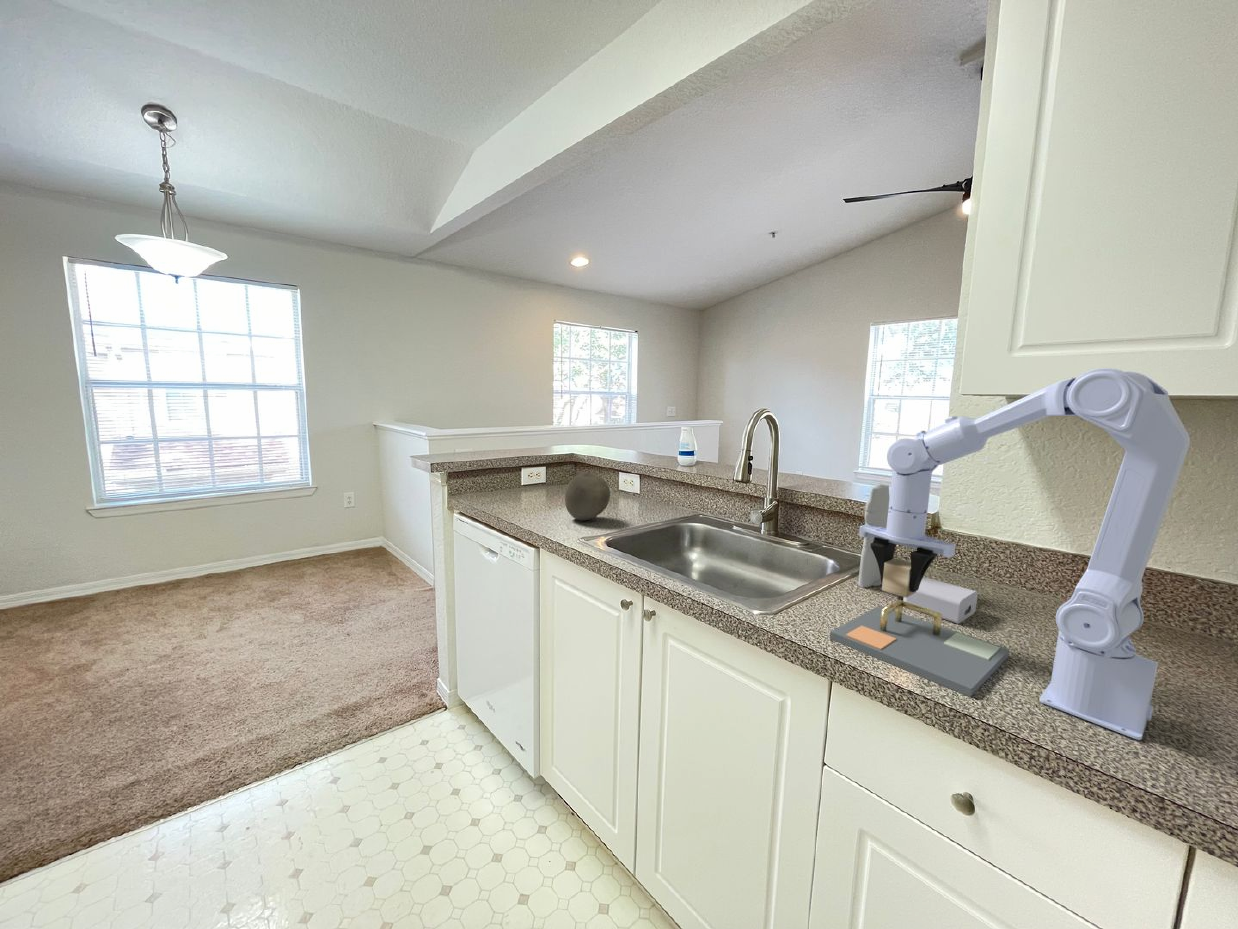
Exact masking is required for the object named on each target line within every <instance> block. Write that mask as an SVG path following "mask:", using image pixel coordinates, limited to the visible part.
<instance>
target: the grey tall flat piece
mask: <svg viewBox="0 0 1238 929" xmlns="http://www.w3.org/2000/svg"><path fill="white" fill-rule="evenodd" d="M889 498H890V485H887V484H886V485H885V484H882V483H881V484H878V485H876V486H873V487H871V489H870V492H869V495H868V500H867V501H866V503H865V510H864V523H865V524H864V525H869V526H875V527H882V528H887V518H888V509H889ZM873 541H874V539H873V538H868V537H865V538H864V537H863V543H862V550H861V553H860V563H859V573H858V582H857V585H858V587H859V588H862V589H868V588H870V587H873V586H876V587H877V586H878V587H879V586H882V583H881V577H880V571H879V567H878V563H877V560H876V558H875V555H874V553H873V551H872V549H871V546H870V544H871V543H873Z"/></svg>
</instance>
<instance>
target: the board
mask: <svg viewBox="0 0 1238 929" xmlns="http://www.w3.org/2000/svg"><path fill="white" fill-rule="evenodd" d="M884 608H886V607H884V606H882V605H877V606H876V607H874V608H873V609H870V610H868V611H866V612H865V613H862V614H861V615H859V616H857V617H856V618H853V619H852V620H850V621H848V622H846V623H844V624H842V625H841V626H839V627H837V628H835V629H833V630H831V631H830V632H829V640H832V641H835V642H837V643H840V644H842V645H844V646H847V647H849V648H851V649H853V650H857V651H859V652H862V653H864V654H866V655H868V656H870V657H873V658H874V659H878V660H881V661H883V662H886V663H887V664H890V665H891V666H894V667H897V668H899V669H902V670H903V671H904V670H905V671H907V672H909V673H911V674H914V675H917V676H919V677H920V678H923V679H926V680H928V681H931V682H934V683H935V684H938V685H940V686H943V687H945V688H948V689H950V690H952V691H955V692H957V693H960V694H962V695H964V696H967V697H969V698H971V697H972V696H973V695H974V694H975V693H976V692H977V691H978V690H979V689H980V688H981V687H982V685H983V684H984V683H985V682H986V681H987V680H988V679H990V677H991V676H992V675H993V674H994V672H996V671H997V669H998V668H1000V666H1002V664H1003V663H1005V661H1006V660H1007V659H1008V658H1009V657H1010V648H1008V647H1007V648H1006V647H1004V646H1002V645H998V644H996V643H995V644H994V643H993V642H990V641H986V640H984V639H980V638H977V637H975V636H971V635H968V634H965V633H963V632H960V631H957V630H953V629H950V628H948V627H944V626H942V625H941V629H940V635H939V636H937V635H934V634H933V627H934V622H933V623H932V622H930V621H926V620H923V619H922V618H921V619H920V618H917V617H915V616H911V615H908V614H906V613H903V612H902V621H901V622H897V621H895V615H896V610H894V611H892V612H890V613H888V620H887V629H886V631H885V632H884V631H881V630H880V621H881V612H882V609H884Z"/></svg>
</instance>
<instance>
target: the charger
mask: <svg viewBox="0 0 1238 929" xmlns="http://www.w3.org/2000/svg"><path fill="white" fill-rule="evenodd" d="M978 592H979V591H976V590H972V589H969V588H965V587H963V586H958V585H956V584H951V583H948V582H944V581H942V580H938V579H933V578H930V577H926V576H925V577H923V578H922V580H921V583H920V586H919V589H918V590H917V591H916V593H914V594H912V595H910V596H909V597H907V598H905V597H902V598H903V600H902V601H905V602H908V603H911V604H914V605H917V606H920V607H923V608H927V609H930V610H933V611H936V612H939V613H941V614H942V620H944V621H948V622H950V623H954V624H958V625H959V624H961V623H962V622H964V621H965V620H966V619H968V618H970V616H973V615H974V614H975V612H976V610H977V603H978V595H979V594H978Z"/></svg>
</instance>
